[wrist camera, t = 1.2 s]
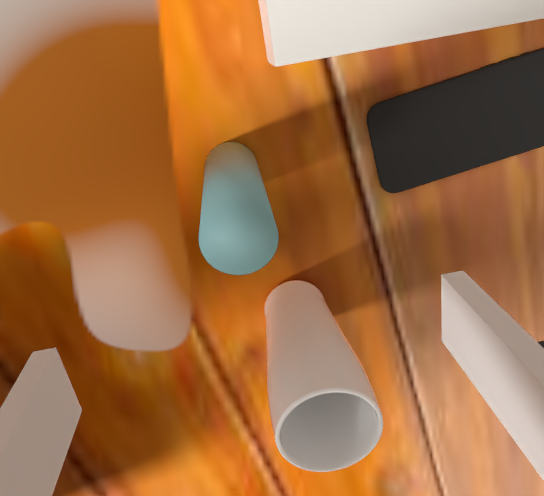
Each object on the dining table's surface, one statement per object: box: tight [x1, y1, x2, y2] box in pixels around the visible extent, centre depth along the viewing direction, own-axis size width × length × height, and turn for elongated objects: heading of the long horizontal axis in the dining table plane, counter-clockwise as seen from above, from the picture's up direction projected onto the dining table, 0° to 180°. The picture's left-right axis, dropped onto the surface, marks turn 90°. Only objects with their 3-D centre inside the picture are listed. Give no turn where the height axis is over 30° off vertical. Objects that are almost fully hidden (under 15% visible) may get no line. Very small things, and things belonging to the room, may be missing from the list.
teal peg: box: [199, 142, 279, 275], centre depth 31 cm, size 4×4×14 cm
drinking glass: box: [264, 280, 383, 472], centre depth 36 cm, size 7×7×15 cm
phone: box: [367, 48, 544, 193], centre depth 37 cm, size 7×1×15 cm
